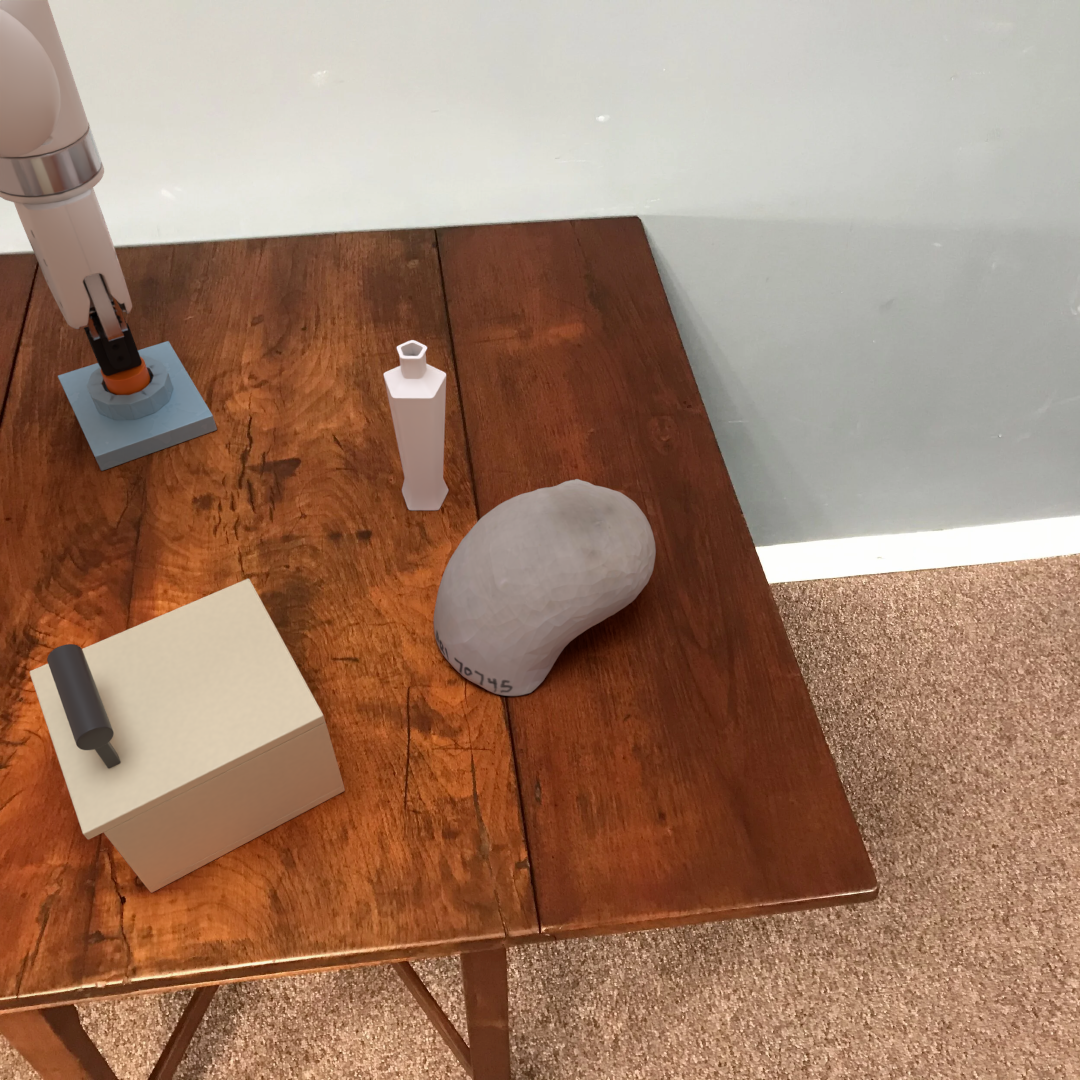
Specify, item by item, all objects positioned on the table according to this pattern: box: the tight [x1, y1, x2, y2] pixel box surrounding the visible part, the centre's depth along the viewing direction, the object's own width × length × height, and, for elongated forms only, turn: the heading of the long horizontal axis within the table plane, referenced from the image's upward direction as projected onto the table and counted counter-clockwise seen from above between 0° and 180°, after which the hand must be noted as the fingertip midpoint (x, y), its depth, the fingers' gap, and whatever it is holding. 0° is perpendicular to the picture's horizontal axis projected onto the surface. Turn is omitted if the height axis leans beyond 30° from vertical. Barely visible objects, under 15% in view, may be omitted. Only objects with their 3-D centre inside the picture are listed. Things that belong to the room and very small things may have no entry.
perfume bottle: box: [383, 339, 449, 511], centre depth 72 cm, size 5×4×15 cm
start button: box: [101, 357, 150, 395], centre depth 80 cm, size 4×4×2 cm
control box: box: [57, 340, 218, 472], centre depth 82 cm, size 10×12×4 cm
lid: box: [29, 578, 326, 840], centre depth 53 cm, size 13×12×5 cm
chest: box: [102, 721, 346, 894], centre depth 58 cm, size 13×12×9 cm
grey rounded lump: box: [433, 478, 657, 697], centre depth 68 cm, size 15×14×15 cm
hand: (121, 365), depth 80 cm, fingers closed
